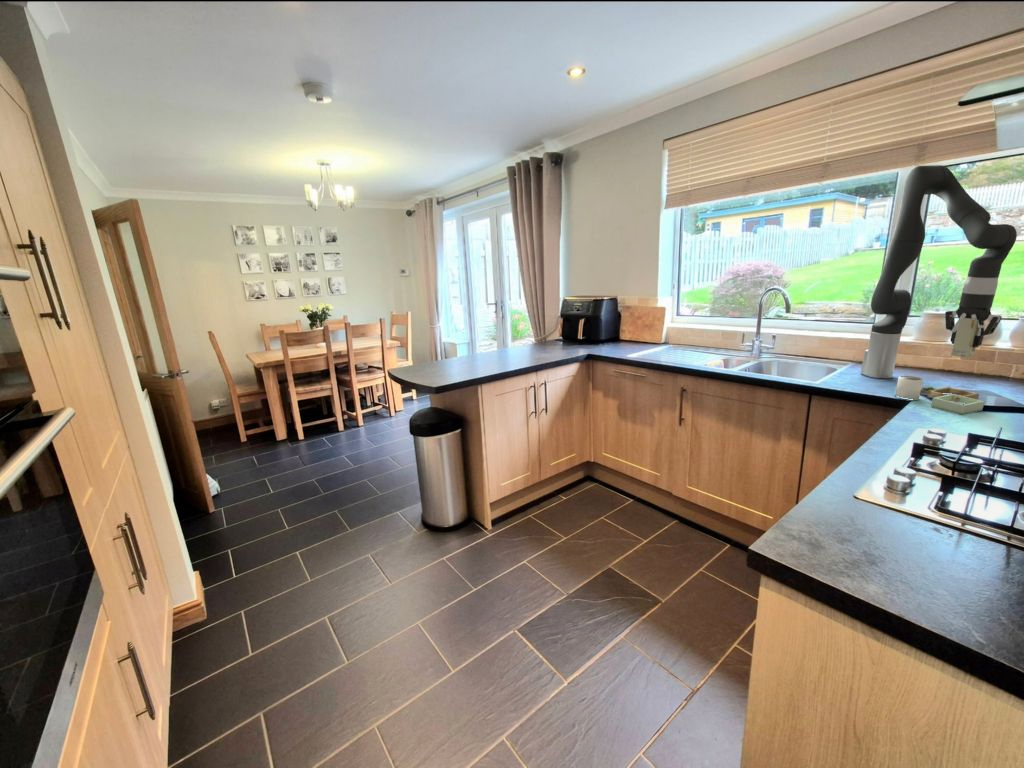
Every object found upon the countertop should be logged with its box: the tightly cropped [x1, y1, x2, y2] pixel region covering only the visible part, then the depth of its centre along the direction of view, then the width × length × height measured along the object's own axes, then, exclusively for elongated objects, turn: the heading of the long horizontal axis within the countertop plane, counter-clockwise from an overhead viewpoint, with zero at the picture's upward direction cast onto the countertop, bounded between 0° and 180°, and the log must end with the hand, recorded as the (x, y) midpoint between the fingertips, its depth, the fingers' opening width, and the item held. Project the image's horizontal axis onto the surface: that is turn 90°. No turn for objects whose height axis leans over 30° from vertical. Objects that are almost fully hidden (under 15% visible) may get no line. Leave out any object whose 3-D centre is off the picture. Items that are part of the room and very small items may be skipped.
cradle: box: [921, 386, 980, 402], centre depth 162 cm, size 14×11×2 cm
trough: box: [930, 394, 985, 416], centre depth 151 cm, size 8×10×3 cm
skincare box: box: [950, 318, 980, 359], centre depth 154 cm, size 6×4×12 cm
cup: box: [894, 374, 924, 401], centre depth 161 cm, size 6×6×7 cm
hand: (964, 345), depth 155 cm, fingers closed on skincare box, 5 cm apart
